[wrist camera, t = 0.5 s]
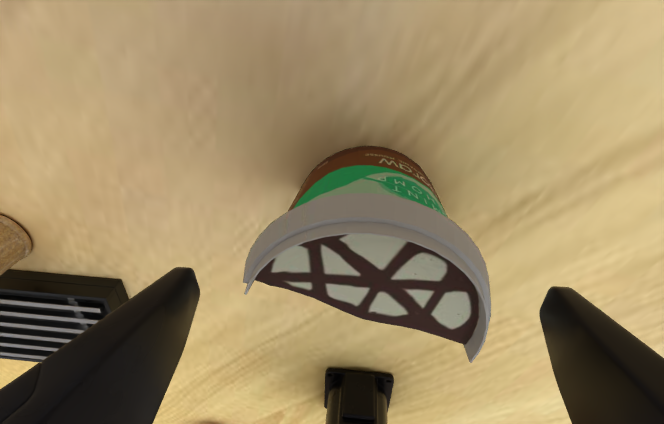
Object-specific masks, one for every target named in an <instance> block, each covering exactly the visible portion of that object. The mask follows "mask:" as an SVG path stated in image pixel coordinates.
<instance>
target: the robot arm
mask: <svg viewBox="0 0 664 424" xmlns="http://www.w3.org/2000/svg"><path fill="white" fill-rule="evenodd" d="M199 297H200V289H199V286H198V283H197V279H196V276H195V273H194V271H193V269H192V268H186V267H176V268H174V269H173V270H171V271H170V272H168V273H167V274H165V275H164V276H163V277H161V278H160V279H158V280H157V281H155V282H154V283H153V284H151V285H150V286H148V287H147V288H145V289H144V290H143V291H141V292H140V293H138V294H137V295H135V296H134V297H133V298H131V299H130V300H128V301H127V302H125V303H124V304H123V305H121V306H120V307H118V308H117V309H115V310H114V311H113V312H111V313H110V314H108V315H107V316H105V317H104V318H103V319H101V320H100V321H98V322H97V323H95V324H94V325H93V326H91V327H90V328H88V329H87V330H85V331H84V332H83V333H81V334H80V335H78V336H77V337H75V338H74V339H73V340H71V341H70V342H68V343H67V344H65V345H64V346H63V347H61V348H60V349H58V350H57V351H55V352H54V353H52V354H51V355H50V356H48V357H47V358H45V359H44V360H43V361H42V363H38V364H37V365H35V366H34V367H32V368H31V369H29V370H28V371H27V372H25V373H24V374H22V375H21V376H19V377H18V378H16V379H15V380H13V381H12V382H11V383H9V384H8V385H6V386H5V387H3V388H2V389H0V424H152V423H153V421H154V419H155V416H156V414H157V412H158V409H159V407H160V405H161V402H162V400H163V398H164V395H165V393H166V391H167V388H168V386H169V384H170V381H171V379H172V377H173V374H174V372H175V369H176V367H177V365H178V362H179V360H180V358H181V355H182V352H183V350H184V347H185V344H186V341H187V337H188V334H189V331H190V327H191V324H192V321H193V317H194V314H195V311H196V307H197V304H198V301H199ZM540 320H541V324H542V328H543V332H544V336H545V340H546V344H547V348H548V352H549V356H550V360H551V364H552V368H553V372H554V375H555V378H556V381H557V384H558V387H559V390H560V393H561V395H562V398H563V401H564V403H565V406H566V409H567V411H568V414H569V417H570V419H571V422H572V424H664V358H663V357H661V356H660V355H659V354H657V353H656V352H655V351H654V350H652V349H651V348H650V347H648V346H647V345H646V344H644V343H643V342H642V341H640V340H639V339H638V338H636V337H635V336H634V335H632V334H631V333H630V332H629V331H627V330H626V329H625V328H623V327H622V326H621V325H619V324H618V323H617V322H615V321H614V320H613V319H611V318H610V317H609V316H607V315H606V314H605V313H604V312H602V311H601V310H600V309H598V308H597V307H596V306H594V305H593V304H592V303H590V302H589V301H588V300H586V299H585V298H584V297H582V296H581V295H580V294H579V293H577V292H576V291H575V290H573V289H572V288H569V287H555V286H554V287H551V288H550V289H549V291H548V293H547V295H546V297H545V299H544V301H543V304H542V306H541V308H540ZM393 383H394V377H393V375H391V374H383V373H373V372H363V371H353V370H343V369H333V368H329V369H327V370H326V374H325V402H324V407H325V408H326V409H327V414H326V424H387V412H388V407H389V403H390V398H391V393H392V388H393Z"/></svg>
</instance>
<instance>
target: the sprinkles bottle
mask: <svg viewBox="0 0 664 424" xmlns="http://www.w3.org/2000/svg"><path fill="white" fill-rule="evenodd" d="M31 247H32V244H31V240H30V238H29V237H28V235H27V234H26V232H25V231H24V230H23V229H22V228H21V227H20V226H19V225H18V224H16V223H15V222H14V221H12V220H10V219H9V218H7V217H4V216H1V215H0V275H2V274H3V273H4V272H5V271H6V270H8V269H9V268H10V267H12V266H13V265H14V264H15V263H16V262H18V261H19V260H21V259H23V258H25V257H26V256H27V255H28V254H29V253H30V252H31Z"/></svg>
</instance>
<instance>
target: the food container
mask: <svg viewBox="0 0 664 424" xmlns="http://www.w3.org/2000/svg"><path fill="white" fill-rule="evenodd" d="M254 280H256V281H259V282H263V283H265V284H268V285H270V286H277V287H281V288H285V289H289V290H292V291H295V292H298V293H301V294H304V295H307V296H310V297H313V298H315V299H317V300H319V301H322V302H324V303H326V304H328V305H331V306H333V307H335V308H337V309H340V310H342V311H344V312H347V313H349V314H352V315H354V316H357V317H359V318H362V319H365V320H370V321H375V322H379V323H385V324H391V325H397V326H403V327H408V328H412V329H417V330H420V331H424V332H427V333H430V334H434V335H437V336H440V337H443V338H446V339H449V340H453V341H456V342H459V343H462V344H463V345H464V348H465V350H466V353H467V356H468V359H469V362H470V363H472V361H473V360H474V359H475V357H476V356H477V355H478V353H479V352H480V350H481V348H482V346H483V344H484V342H485V339H486V335H487V330H488V325H489V321H490V317H491V298H490V285H489V276H488V272H487V268H486V263H485V261H484V259H483V257H482V255H481V253H480V251H479V249H478V247H477V246H476V245H475V243H474V242H473V241H472V239H471V238H470V237H469V236H468V234H467V233H466V232H464V231H463V230H462V229H461V228H460V227H459V226H458V225H457V224H456V223H454V222H453V221H452V220H450V219H449V218H448V217H447V215H446V213H445V211H444V209H443V207H442V205H441V202H440V200H439V198H438V196H437V194H436V192H435V190H434V188H433V186H432V184H431V182H430V180H429V179H428V178H427V176H426V175H425V173H424V172H423V170H422V169H421V168H420V166H419V165H418V164H416V163H415V162H413V161H412V160H411V159H409V158H408V157H407V156H405V155H403V154H401V153H399V152H397V151H394V150H391V149H387V148H383V147H375V146H362V147H355V148H350V149H346V150H343V151H340V152H338V153H335V154H334V155H332V156H330V157H328V158H326V159H325V160H324V161H322V162H321V163H320V164H319V165H317V167H316V168H315V169H314V170H313V171H312V172H311V173H310V174H309V176H308V178H307V179H306V181H305V182H304V184H303V186H302V187H301V189H300V191H299V193H298V194H297V196H296V198H295V200H294V201H293V203H292V205H291V207H290V208H289V210H288V212H286V213H285V214H283V215H282V216H281V217H279V218H278V219H276V220H275V221H274V222H272V223H271V224H270V225H269V226H268V227H267V228H266V229H265V230H264V231H263V232H262V233H261V234H260V235H259V237H258V238H257V240H256V241H255V243H254V244H253V246H252V247H251V249H250V252H249V254H248V257H247V259H246V264H245V271H244V279H243V283H248V284H247V288H246V291H245V294H247V292H248V290H249V289H250V287H251V285H252V283H253V282H254Z"/></svg>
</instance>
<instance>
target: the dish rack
mask: <svg viewBox="0 0 664 424" xmlns="http://www.w3.org/2000/svg"><path fill="white" fill-rule="evenodd" d="M128 300H129V299H128V296H127V294H126V291H125V289H124V286H123V284H122V281H121V280H118V279H107V278H96V277H84V276H73V275H62V274H51V273H39V272H28V271H17V270H6V271H5V272H4V273H3V274H2V275H0V358H3V359H13V360H22V361H32V362H41V363H42V361H43V360H44V359H45V358H47V357H48V356H50V355H51V354H52V353H54V352H55V351H57V350H58V349H60V348H61V347H63V346H64V345H65V344H67V343H68V342H70V341H71V340H73V339H74V338H75V337H77V336H78V335H80V334H81V333H83V332H84V331H85V330H87V329H88V328H90V327H91V326H93V325H94V324H95V323H97V322H98V321H100V320H101V319H103V318H104V317H105V316H107V315H108V314H110V313H111V312H113V311H114V310H115V309H117V308H118V307H120V306H121V305H123V304H124V303H125V302H127V301H128Z"/></svg>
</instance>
